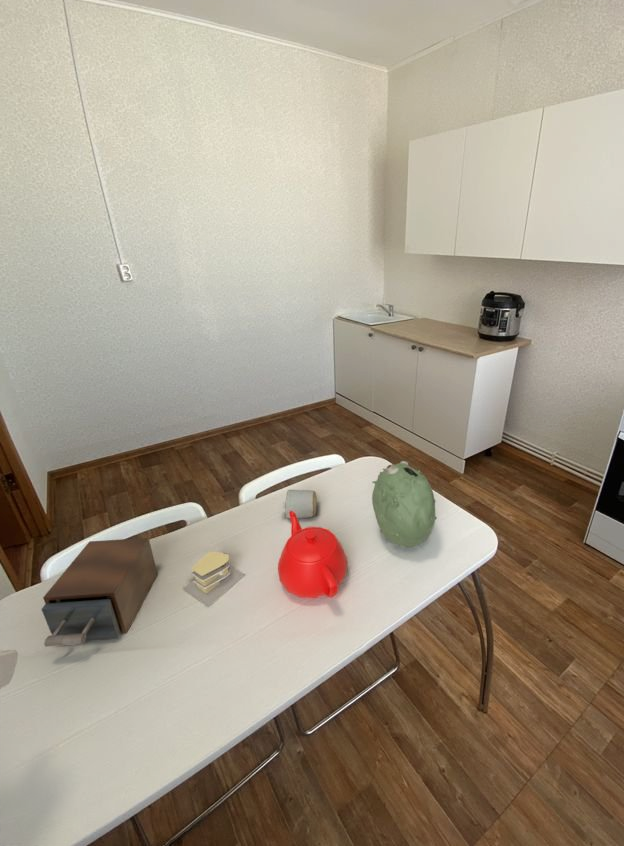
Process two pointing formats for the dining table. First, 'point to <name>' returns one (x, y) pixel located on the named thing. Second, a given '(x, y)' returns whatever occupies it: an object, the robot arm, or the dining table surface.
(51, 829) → the dining table surface
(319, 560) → the teapot
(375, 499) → the green bumpy oval shape
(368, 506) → the dining table surface
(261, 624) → the dining table surface
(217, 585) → the stacked layers on plate
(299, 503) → the ceramic mug
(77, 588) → the cabinet
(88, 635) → the dark grey drawer
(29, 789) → the dining table surface
